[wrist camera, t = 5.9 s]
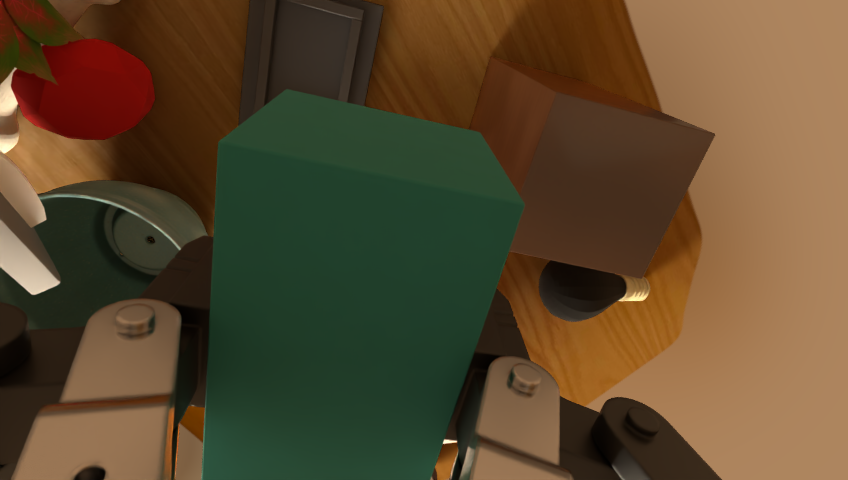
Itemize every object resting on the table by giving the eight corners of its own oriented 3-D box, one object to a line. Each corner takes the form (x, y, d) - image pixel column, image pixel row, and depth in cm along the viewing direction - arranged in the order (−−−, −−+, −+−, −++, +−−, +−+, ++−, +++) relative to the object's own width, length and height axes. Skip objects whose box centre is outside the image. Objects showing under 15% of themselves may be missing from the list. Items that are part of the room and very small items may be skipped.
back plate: (257, -30, 38) (248, -32, 35) (384, 6, 39) (383, 6, 37) (243, 122, 42) (234, 128, 40) (356, 148, 44) (353, 156, 42)
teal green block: (285, 88, 11) (217, 140, 7) (481, 131, 11) (526, 204, 7) (256, 367, 14) (199, 514, 10) (408, 389, 15) (412, 536, 11)
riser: (490, 56, 41) (556, 91, 24) (587, 82, 42) (716, 134, 25) (460, 156, 45) (500, 249, 28) (551, 178, 46) (642, 279, 29)
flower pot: (273, 276, 49) (242, 343, 39) (132, 323, 51) (68, 399, 41) (187, 125, 42) (124, 160, 32) (27, 186, 44) (-79, 237, 34)
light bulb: (680, 306, 46) (575, 307, 42) (633, 329, 52) (536, 331, 48) (656, 244, 49) (556, 239, 45) (613, 272, 55) (521, 269, 51)
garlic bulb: (-102, 117, 36) (-49, 103, 41) (-19, 172, 39) (23, 153, 43) (35, -105, 31) (79, -94, 35) (123, -26, 33) (154, -24, 37)
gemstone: (183, 94, 40) (170, 71, 41) (73, 30, 32) (61, 3, 33) (111, 163, 42) (101, 139, 43) (-12, 119, 33) (-20, 91, 35)
